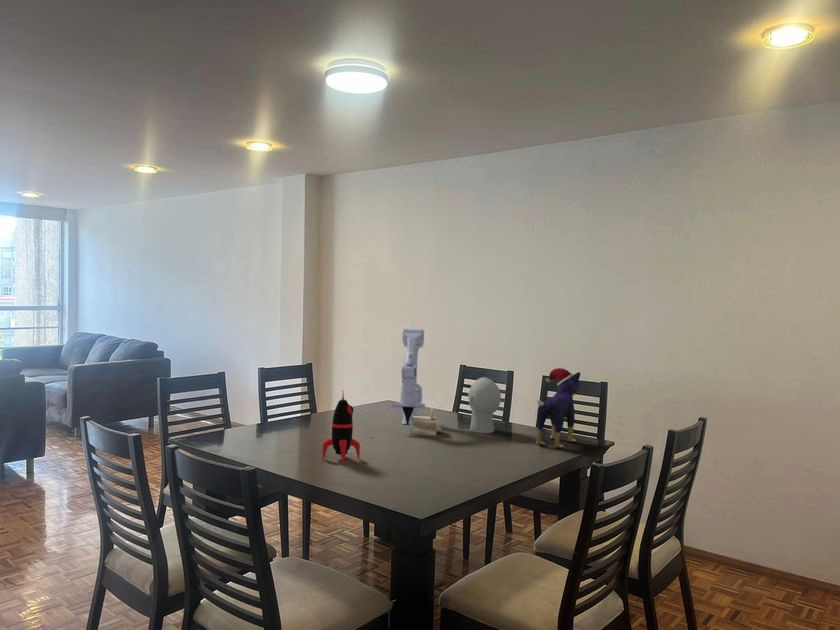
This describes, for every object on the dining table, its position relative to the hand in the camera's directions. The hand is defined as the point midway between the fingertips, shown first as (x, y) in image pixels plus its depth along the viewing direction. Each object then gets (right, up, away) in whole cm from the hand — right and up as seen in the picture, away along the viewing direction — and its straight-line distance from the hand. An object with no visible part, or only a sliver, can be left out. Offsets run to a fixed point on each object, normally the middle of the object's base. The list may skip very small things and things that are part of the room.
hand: (407, 424), depth 271 cm
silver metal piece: (+8, -4, 0) cm, 9 cm away
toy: (+60, -6, -12) cm, 61 cm away
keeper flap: (+11, +3, 0) cm, 11 cm away
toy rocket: (-23, -4, -48) cm, 54 cm away
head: (+33, -4, +8) cm, 34 cm away
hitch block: (+7, -4, 0) cm, 8 cm away
